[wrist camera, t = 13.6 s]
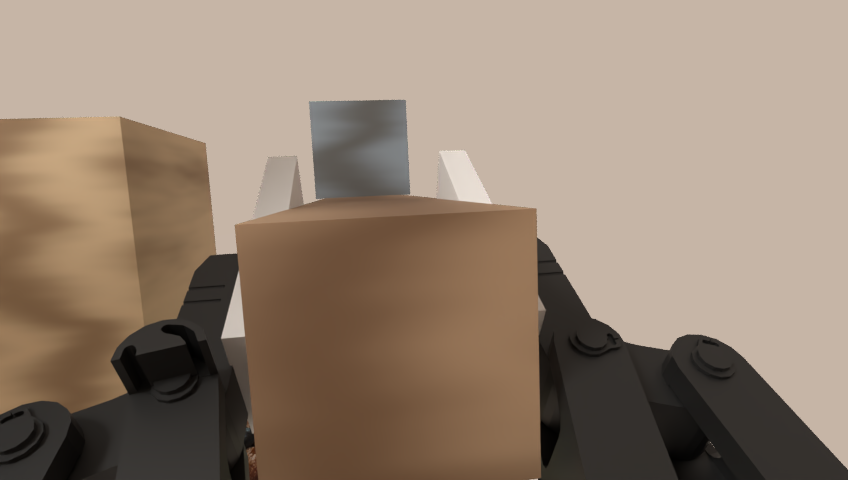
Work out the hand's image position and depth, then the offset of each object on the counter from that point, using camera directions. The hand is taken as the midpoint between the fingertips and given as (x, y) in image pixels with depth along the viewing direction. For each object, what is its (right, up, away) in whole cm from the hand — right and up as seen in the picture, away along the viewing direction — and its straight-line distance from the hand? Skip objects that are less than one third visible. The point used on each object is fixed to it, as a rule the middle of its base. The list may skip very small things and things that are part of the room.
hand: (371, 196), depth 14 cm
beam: (0, -4, +5) cm, 6 cm away
